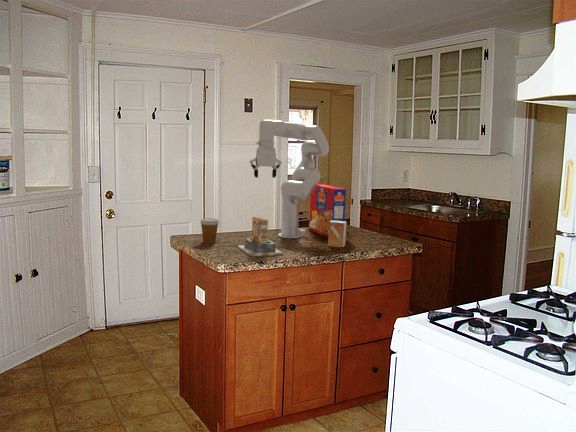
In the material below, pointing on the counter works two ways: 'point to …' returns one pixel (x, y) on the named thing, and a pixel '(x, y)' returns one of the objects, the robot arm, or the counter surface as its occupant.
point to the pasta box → (326, 207)
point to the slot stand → (259, 248)
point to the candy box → (259, 230)
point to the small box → (337, 233)
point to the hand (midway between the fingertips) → (265, 177)
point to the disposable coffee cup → (209, 230)
